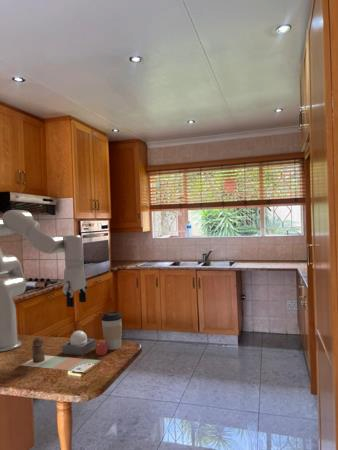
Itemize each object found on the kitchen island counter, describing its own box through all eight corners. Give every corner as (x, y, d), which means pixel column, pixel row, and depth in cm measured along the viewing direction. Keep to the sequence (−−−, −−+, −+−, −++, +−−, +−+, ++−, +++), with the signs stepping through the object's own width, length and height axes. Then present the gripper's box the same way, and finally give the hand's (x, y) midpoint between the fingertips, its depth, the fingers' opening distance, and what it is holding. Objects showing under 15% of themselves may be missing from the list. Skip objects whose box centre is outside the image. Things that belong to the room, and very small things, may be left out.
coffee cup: (114, 342, 161) (112, 309, 161) (127, 345, 155) (126, 311, 155) (98, 348, 154) (96, 313, 154) (112, 352, 148) (110, 316, 148)
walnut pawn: (30, 362, 140) (29, 339, 140) (38, 358, 144) (37, 335, 144) (39, 363, 138) (38, 339, 138) (47, 359, 143) (45, 336, 143)
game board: (19, 366, 138) (19, 365, 138) (39, 356, 148) (39, 354, 148) (85, 373, 127) (85, 372, 127) (101, 362, 138) (101, 360, 138)
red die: (96, 355, 145) (95, 345, 145) (97, 351, 149) (97, 342, 149) (105, 354, 145) (105, 344, 145) (107, 351, 149) (106, 341, 149)
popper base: (62, 354, 148) (61, 345, 148) (76, 346, 158) (75, 337, 158) (82, 356, 145) (82, 346, 145) (95, 348, 154) (95, 339, 154)
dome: (67, 349, 149) (66, 333, 149) (76, 343, 156) (76, 328, 156) (81, 350, 147) (80, 333, 147) (90, 344, 153) (89, 328, 153)
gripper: (78, 261, 161) (80, 299, 161) (54, 266, 144) (56, 309, 144) (92, 261, 158) (95, 300, 158) (69, 266, 142) (72, 309, 142)
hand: (76, 304), depth 151 cm, fingers open, 8 cm apart
